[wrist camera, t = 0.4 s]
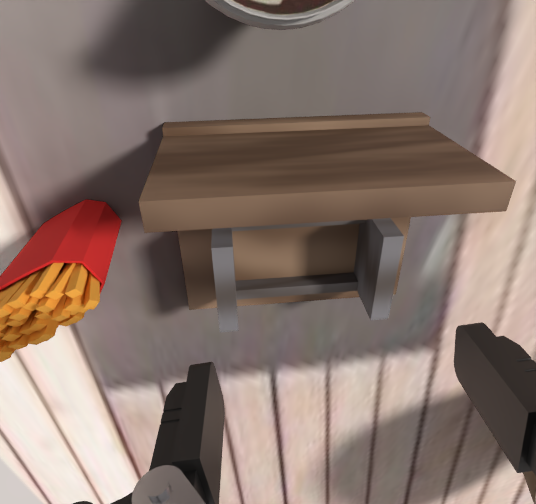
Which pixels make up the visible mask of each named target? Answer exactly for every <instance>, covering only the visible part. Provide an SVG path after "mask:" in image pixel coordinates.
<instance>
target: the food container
mask: <svg viewBox="0 0 536 504" xmlns="http://www.w3.org/2000/svg"><path fill="white" fill-rule="evenodd" d="M205 1H206V2H207V3H208V4H209V5H211V6H212V7H214V8H215V9H217V10H219V11H220V12H222V13H223V14H225V15H226V16H228V17H230V18H233V19H235V20H237V21H239V22H242V23H244V24H247V25H251V26H255V27H259V28H263V29H276V30H286V29H295V28H302V27H306V26H309V25H312V24H316V23H319V22H321V21H323V20H325V19H327V18H329V17H331V16H333V15H335V14H337V13H339V12H340V11H341V10H343V9H344V8H346V7H347V6H348V5H350V4H351V3H353V2H354V1H355V0H205Z"/></svg>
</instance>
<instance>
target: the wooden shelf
mask: <svg viewBox="0 0 536 504" xmlns="http://www.w3.org/2000/svg"><path fill="white" fill-rule="evenodd" d="M429 121H430V117H429V116H427V115H426V114H424V113H422V112H419V113H393V114H368V115H342V116H317V117H291V118H266V119H240V120H215V121H189V122H164V125H163V127H162V131H163V139H162V141H161V144H160V146H159V149H158V152H157V154H156V157H155V160H154V162H153V165H152V167H151V170H150V173H149V175H148V178H147V181H146V183H145V186H144V189H143V191H142V194H141V196H140V199H139V206H140V212H141V217H142V222H143V227H144V232H145V233H149V232H166V231H178V238H179V244H180V251H181V258H182V264H183V271H184V278H185V284H186V291H187V298H188V304H189V310H192V309H205V308H217V309H218V319H219V329H220V332H229V331H238V315H237V306H246V305H259V304H272V303H286V302H299V301H313V300H326V299H339V298H353V297H360V298H361V300H362V302H363V305H364V307H365V309H366V311H367V313H368V315H369V318H370V320H380V319H388V317H389V312H390V307H391V302H392V297H393V294H396V290H397V285H398V280H399V275H400V269H401V264H402V259H403V254H404V249H405V244H406V239H407V234H408V229H409V223H410V218H411V217H417V216H434V215H451V214H467V213H484V212H501V211H506V210H507V207H508V204H509V201H510V198H511V195H512V192H513V189H514V186H515V183H516V181H515V180H513V179H512V178H510V177H508V176H507V175H505V174H504V173H502V172H501V171H499V170H498V169H496V168H494V167H493V166H491V165H490V164H488V163H487V162H485V161H484V160H482V159H480V158H479V157H477V156H476V155H474V154H473V153H471V152H470V151H468V150H466V149H465V148H463V147H462V146H460V145H459V144H457V143H456V142H454V141H452V140H451V139H449V138H448V137H446V136H445V135H443V134H442V133H440V132H438V131H437V130H435V129H434V128H432V127H431V126H429Z"/></svg>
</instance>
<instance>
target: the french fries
mask: <svg viewBox="0 0 536 504" xmlns="http://www.w3.org/2000/svg"><path fill="white" fill-rule="evenodd" d="M120 225H121V220H120V218H119V217H118V216H117V215H116V214H115V212H114V211H113V210H112V209H111V208H110V206H109V205H108V204H107V203H106V202H102V201H94V200H87V199H86V200H84V201H82V202H80V203H78V204H76V205H74V206H72V207H70V208H68V209H66V210H64V211H63V212H61V213H59V214H58V215H56V216H54V217H53V218H51V219H50V220H48V221H46V222H45V223H43V225H42V226H41V227H40V228H39V229H38V231H37V232H36V233H35V234H34V236H33V237H32V238H31V239H30V240H29V242H28V243H27V244H26V245H25V247H24V248H23V249H22V250H21V251H20V253H19V254H18V255H17V256H16V257H15V259H14V260H13V261H12V262H11V264H10V265H9V266H8V267H7V268H6V270H5V271H4V272H3V273H2V275H1V276H0V362H2V361H4V360H6V359H8V358H10V357H11V354H12V353H13V352H14V351H15V350H16V349H20V348H23V347H26V346H27V345H28V344H36V345H37V344H39V343H41V342H44V341H47V340H49V339H50V338H52V337H53V336H54V335H55V332H56V328H57V327H58V325H63V326H68V325H70V324H73V323H76V322H78V321H79V320H81V319H82V318H83V317H84V313H85V312H86V311H87V310H88V309H94V308H95V307H96V306H97V304H98V303H99V302H100V293H101V290H102V288H103V286H104V284H105V280H106V276H107V273H108V269H109V265H110V262H111V258H112V254H113V251H114V247H115V243H116V239H117V236H118V232H119V228H120Z"/></svg>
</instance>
